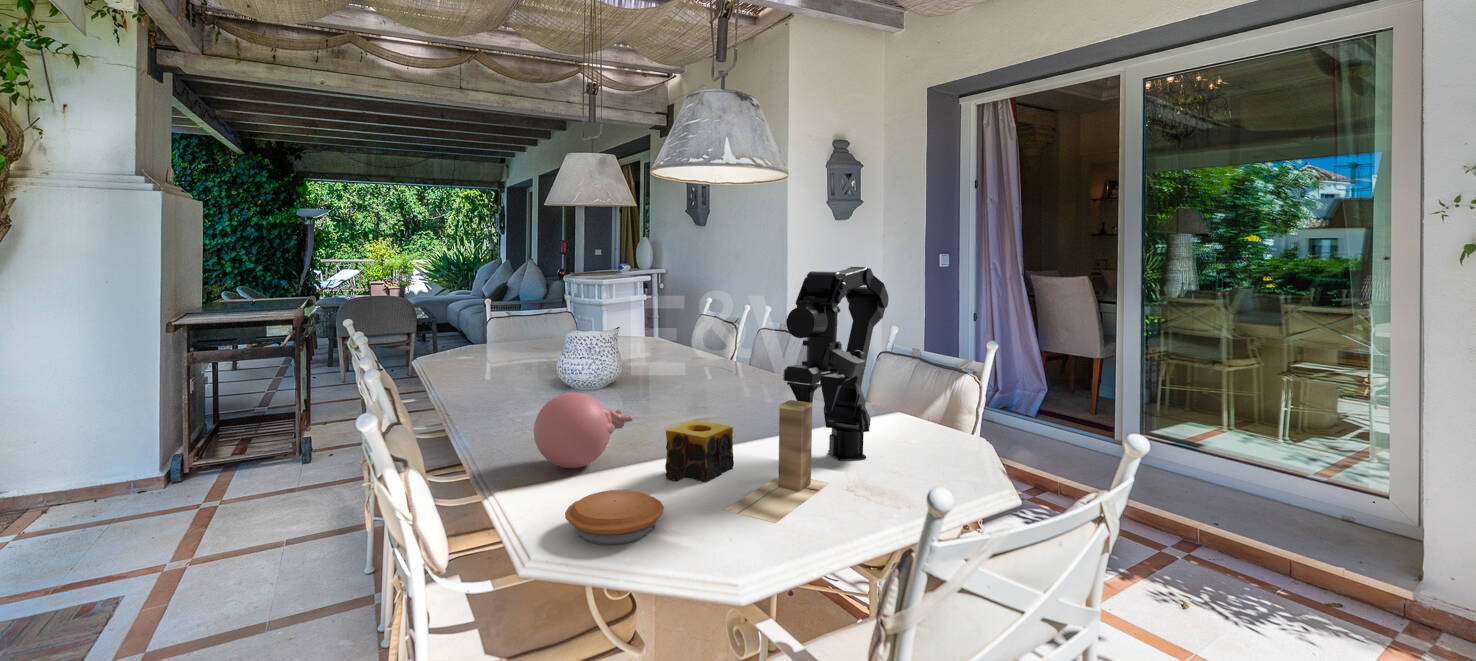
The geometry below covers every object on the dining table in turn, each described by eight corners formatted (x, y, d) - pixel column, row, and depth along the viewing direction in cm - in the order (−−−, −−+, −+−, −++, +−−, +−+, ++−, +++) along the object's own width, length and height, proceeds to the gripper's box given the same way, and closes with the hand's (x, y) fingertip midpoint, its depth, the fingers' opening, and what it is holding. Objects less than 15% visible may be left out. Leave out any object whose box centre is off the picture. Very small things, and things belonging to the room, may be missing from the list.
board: (782, 479, 132) (783, 473, 132) (830, 488, 127) (830, 482, 127) (723, 516, 113) (723, 510, 113) (775, 529, 108) (776, 522, 108)
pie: (601, 506, 118) (601, 479, 117) (680, 520, 112) (680, 491, 112) (545, 541, 104) (544, 510, 103) (631, 559, 98) (631, 526, 97)
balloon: (635, 475, 134) (634, 399, 132) (530, 480, 130) (528, 403, 128) (632, 452, 149) (631, 384, 147) (538, 456, 145) (536, 387, 143)
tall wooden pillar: (789, 479, 128) (790, 399, 126) (811, 484, 126) (812, 402, 124) (777, 487, 124) (779, 404, 123) (800, 491, 122) (801, 407, 120)
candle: (706, 489, 127) (706, 438, 125) (663, 479, 132) (663, 430, 131) (734, 474, 135) (735, 426, 134) (694, 465, 140) (694, 419, 139)
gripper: (837, 341, 119) (833, 428, 120) (879, 337, 134) (875, 414, 135) (783, 336, 125) (780, 419, 127) (830, 333, 141) (826, 406, 142)
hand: (818, 414), depth 132 cm, fingers open, 9 cm apart
